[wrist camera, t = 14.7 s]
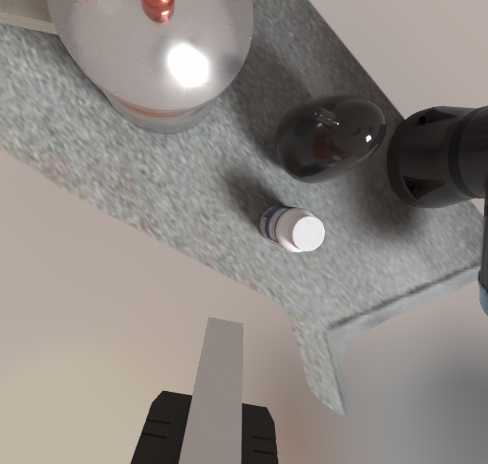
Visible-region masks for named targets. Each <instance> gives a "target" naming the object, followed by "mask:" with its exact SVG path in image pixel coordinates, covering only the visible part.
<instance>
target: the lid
mask: <svg viewBox="0 0 488 464" xmlns="http://www.w3.org/2000/svg"><path fill="white" fill-rule="evenodd" d="M47 4H48V8H49V12H50V15H51V18H52V21H53V24H54V26H55V29H56V31H57V33H58V35H59V37H60V39H61V41H62V43H63V44H64V46H65V47H66V49H67V50H68V52H69V54H70V55H71V57H72V58H73V59H74V61H75V62H76V63H77V65H78V66H79V67H80V68H81V70H82V71H83V72H84V73H85V75H86V76H87V77H88V78H89V79H90V80H91V81H92V82H93V83H94V84H95V85H96V86H98V87H99V88H100V89H102V90H103V91H104V92H105V93H107V94H108V95H110V96H111V97H113V98H115V99H116V100H118V101H119V102H122V103H124V104H126V105H128V106H130V107H133V108H136V109H139V110H142V111H145V112H151V113H156V114H179V113H185V112H189V111H193V110H196V109H198V108H201V107H203V106H205V105H207V104H209V103H211V102H212V101H214V100H215V99H216V98H218V97H219V96H220V95H221V94H222V93H223V92H224V91H225V90H226V89H227V88H228V87H229V86H230V85H231V83H232V82H233V80H234V79H235V78H236V76H237V74H238V73H239V71H240V69H241V67H242V66H243V64H244V62H245V60H246V57H247V54H248V52H249V49H250V45H251V40H252V35H253V26H254V11H253V2H252V0H47Z"/></svg>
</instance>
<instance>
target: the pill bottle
mask: <svg viewBox="0 0 488 464" xmlns="http://www.w3.org/2000/svg"><path fill="white" fill-rule="evenodd" d="M260 228H261V232H262V234H263V236H264V237H265V238H266V239H267V240H268V241H270V242H272V243H274V244H276V245H278V246H280V247H282V248H284V249H286V250H288V251H291V252H302V251H312V250H314V249H316V248H317V247H319V246H320V244H321V243H322V241H323V239H324V235H325V229H324V226H323V224H322V222H321V221H320V220H319V219H318V218H316V217H315V216H314V215H313V214H312V213H311V212H309V211H307V210H305V209H302V208H296V207H288V206H273V207H271V208H269V209H268V210H267V211H266V212H265V213H264V214H263V216H262V218H261V223H260Z"/></svg>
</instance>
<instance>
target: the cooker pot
mask: <svg viewBox="0 0 488 464" xmlns="http://www.w3.org/2000/svg"><path fill="white" fill-rule="evenodd" d="M0 23H4V24H9V25H14V26H18V27H23V28H28V29H32V30H37V31H42V32H47V33H51V34H56V35H58V33H57V31H56V29H55V26H54V24H53V21H52V18H51V15H50V12H49V8H48V4H47V0H0ZM101 90H102V89H101ZM102 91H103V90H102ZM103 93H104V94H105V96H106V97H107V99H108V100H109V102H110V103H111V104H112V106H113V107H114V108H115V110H116V111H117V112H118V113H119V114H120V115H121V116H122V117H123V118H125V119H126V120H127V121H128V122H130V123H132V124H133V125H135V126H137V127H139V128H141V129H143V130H146V131H149V132H153V133H157V134H175V133H180V132H183V131H186V130H188V129H190V128H192V127H194V126H196V125H197V124H199V123H200V122H201V121H202V120H203V119H204V118H205V117H206V116H207V114H208V113H209V112H210V110H211V109H212V107H213V105H214V103H215V102H216V100H217V98H216V99H215V100H214V101H212V102H211V103H209V104H207V105H205V106H203V107H201V108H198V109H196V110H193V111H189V112H185V113H179V114H156V113H151V112H145V111H142V110H139V109H136V108H133V107H130V106H128V105H126V104H124V103H122V102H119V101H118V100H116V99H115V98H113V97H111V96H110V95H108V94H107V93H105V92H104V91H103Z"/></svg>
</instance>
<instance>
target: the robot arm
mask: <svg viewBox="0 0 488 464" xmlns="http://www.w3.org/2000/svg"><path fill="white" fill-rule="evenodd" d="M388 173H389V178H390V181H391V184H392V186H393V188H394V190H395V191H396V193H397V194H398V195H399V197H400V198H401V199H402V200H404V201H405V202H406V203H408V204H410V205H412V206H415V207H420V208H441V207H445V206H449V205H452V204H456V203H459V202H463V201H466V200H470V199H473V198H485V205H484V221H483V237H482V254H481V270H480V271H479V273H478V283H479V286H480V304H481V306H482V309H483V310H484V312H485V313H486V314H487V316H488V106H485V107H481V108H477V109H475V108H462V107H447V106H439V107H432V108H429V109H426V110H422V111H419V112H417V113H415V114H413V115H411V116H410V117H408V118H407V119H406V120H405V121H404V122H403V123H402V124H401V125H400V126H399V128H398V129H397V131H396V133H395V134H394V136H393V139H392V141H391V144H390V148H389V152H388ZM242 362H243V324H242V323H237V322H231V321H226V320H221V319H215V318H210V317H209V319H208V324H207V328H206V333H205V338H204V343H203V348H202V352H201V357H200V362H199V367H198V372H197V376H196V381H195V386H194V391H193V396H192V395H186V394H180V393H174V392H168V391H162V392H161V393H160V395H159V396H158V397H157V398H156V399H155V400H154V401H153V402H152V405H151V407H150V410H149V413H148V416H147V418H146V422H145V424H144V427H143V430H142V433H141V436H140V438H139V441H138V444H137V447H136V450H135V452H134V455H133V458H132V461H131V464H278V457H277V445H276V435H275V425H274V421H273V419H272V417H271V415H270V413H269V411H268V409H267V408H266V407H261V406H255V405H249V404H244V403H242Z"/></svg>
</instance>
